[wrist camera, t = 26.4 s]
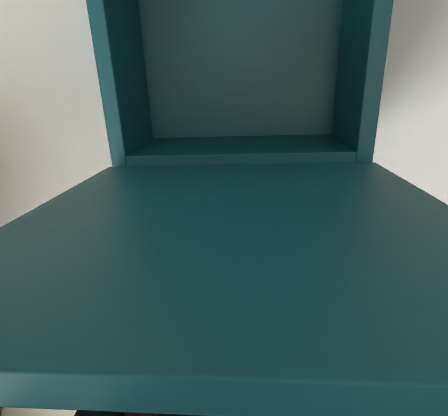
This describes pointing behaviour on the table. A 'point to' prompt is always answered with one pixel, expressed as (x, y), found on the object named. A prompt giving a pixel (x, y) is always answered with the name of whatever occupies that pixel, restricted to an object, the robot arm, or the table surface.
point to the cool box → (240, 80)
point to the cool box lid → (229, 294)
